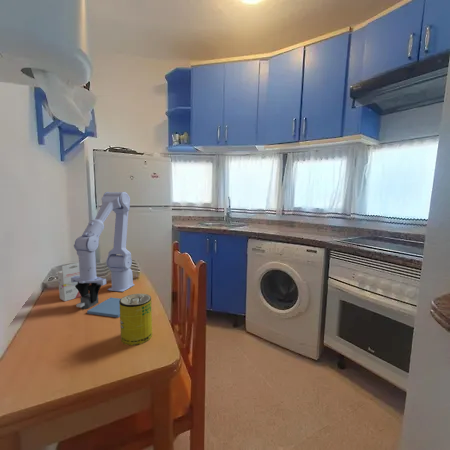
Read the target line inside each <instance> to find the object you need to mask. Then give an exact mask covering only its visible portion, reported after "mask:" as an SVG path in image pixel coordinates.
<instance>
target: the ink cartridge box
mask: <svg viewBox="0 0 450 450" xmlns="http://www.w3.org/2000/svg"><path fill="white" fill-rule="evenodd" d="M74 276H80V271H79V262H76V263H75V262H74V263H70V264H66V265H62V266H61V270H60V271H57V280H58V282H57V283H58V293H59V299H60V300H62V301H64V302H68V301H70V300H73V299H78V298H81V295H80V293H79V291H78V289H77V288H76V287H75V285H77V284H78V282H71V277H74Z"/></svg>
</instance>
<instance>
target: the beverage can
mask: <svg viewBox="0 0 450 450" xmlns="http://www.w3.org/2000/svg"><path fill="white" fill-rule="evenodd" d="M119 304H120V317H119V319H120V320H119V323H120V325H119V326H120V340H121V343H122V344H123V345H126V346H139V345H143V344H144V343H147V342H149V341H150V340H151V339H152V338H153V319H152V318H153V317H152V316H153V315H152V314H153V313H152V312H153V311H152V310H153V309H152V297H151V295H149V294H147V293H133V294H127V295H126V296H122V297H121V298H120V301H119Z"/></svg>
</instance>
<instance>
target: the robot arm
mask: <svg viewBox="0 0 450 450" xmlns="http://www.w3.org/2000/svg"><path fill="white" fill-rule="evenodd" d="M101 203H102V204H101V205H100V208H99V210H98V212H97V214H96V217H95V218H94V219H91V220H90V221H89V222H88V223H87V224H88V225H87V226H86V228H85V229H84V231H83V232H82V234H81V236H79V237H77V238H76V239H75V241H74V244H73V248H74V249H75V251H76V255H77V256H78V263H79V271H80V276H74V277H71V282H78V284H77V285H75V287H76V288H77V289H78V291H79V293H80V295H81V297H83V296H85V295H87V294H89V293H90V299H91V303H93V302H95V301H96V300H97V295H98V296H99V291H100V289H101V287H102V286H105V285H107V278H102V277H100V276H97V261H96V250H97V249H98V247H99V241H100V236H101V235H102V233H103V231H104V229H105V224H104V223H105V221H106V219H107V218H108V217H109V215H110V214H111V212H112V211H113V212H114V214H115V221H114V222H115V223H114V234H113V235H114V236H113V248H112V249H110V250H109V251H108V255H107V258H106V260H105V261H106V262H105V263H106V267H108V268H109V271H110V272H111V273H110V275H111V279H110V280H111V287H109V288H107V291H113V292H118V293H119V292H121V293H122V292H125V291H127V290H129V289H130V288H132V287H134V286H135V283H134V279H133V278H134V277H133V269H131V267H132V264H133V261H132V260H133V259H132V253H131V251H130V250H128V249H127V237H128V226H129V225H128V223H129V222H128V221H129V211H130V209H131V208H130V207H131V206H130V205H131V197H130V196H129V193H127V192H126V191H122V192H121V191H106V192H104V193H103V196H102V197H101ZM81 297H80V298H81Z"/></svg>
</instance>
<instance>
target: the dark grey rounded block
mask: <svg viewBox="0 0 450 450" xmlns="http://www.w3.org/2000/svg"><path fill="white" fill-rule="evenodd" d="M79 299H80V302H79V303H77V304H76V305H75V306H76V308H80V309H81V310H89V309H91V307H92V308H93V307H94V306H96V305H98V304H99V294H98V295H97V300H96V301H95V302H93V303H91V299H90V293H89V294H87V295H85V296H83V297H79Z"/></svg>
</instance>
